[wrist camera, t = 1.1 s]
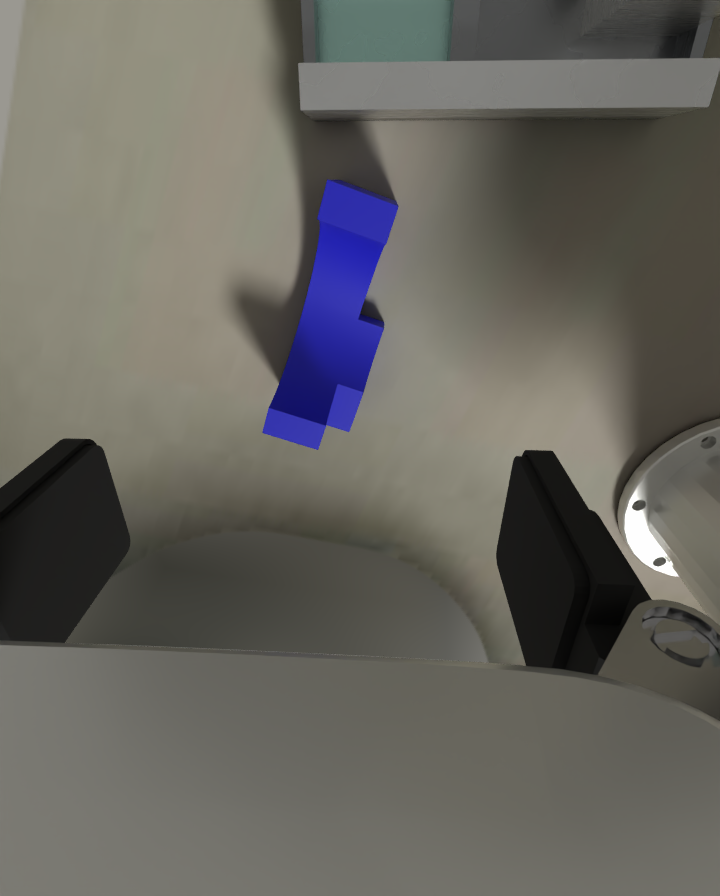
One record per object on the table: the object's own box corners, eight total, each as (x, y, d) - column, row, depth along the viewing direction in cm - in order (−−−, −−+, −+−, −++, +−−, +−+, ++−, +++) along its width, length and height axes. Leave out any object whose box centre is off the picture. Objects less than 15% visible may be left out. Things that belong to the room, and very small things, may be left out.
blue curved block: (352, 410, 30) (345, 458, 25) (284, 388, 30) (262, 432, 25) (423, 211, 25) (433, 219, 19) (340, 179, 24) (327, 179, 19)
